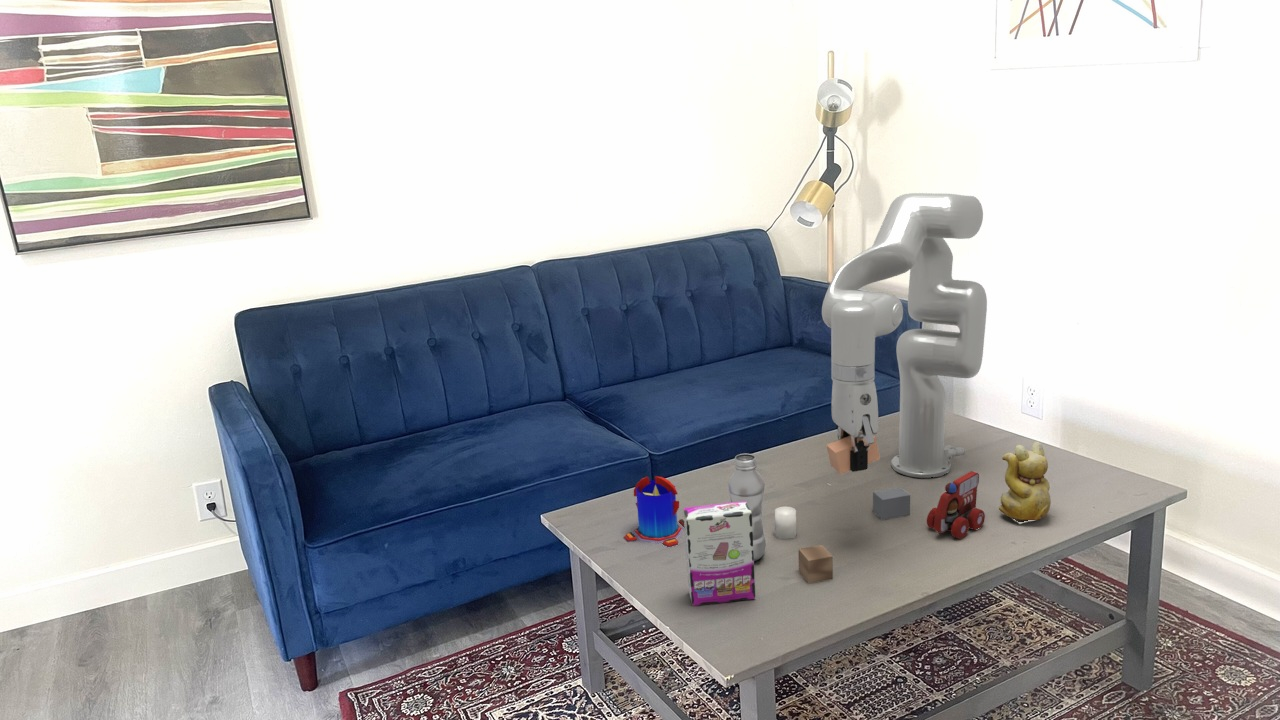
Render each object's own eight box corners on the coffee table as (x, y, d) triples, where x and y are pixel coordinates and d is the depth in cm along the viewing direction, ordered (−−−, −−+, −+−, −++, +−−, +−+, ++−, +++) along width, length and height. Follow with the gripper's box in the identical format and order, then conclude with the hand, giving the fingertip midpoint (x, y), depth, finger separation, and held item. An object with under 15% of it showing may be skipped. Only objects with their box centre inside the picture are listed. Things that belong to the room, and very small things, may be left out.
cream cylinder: (791, 528, 181) (791, 505, 179) (799, 537, 177) (799, 513, 175) (772, 531, 180) (771, 508, 178) (780, 540, 176) (779, 517, 175)
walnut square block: (822, 567, 166) (821, 544, 164) (832, 579, 161) (832, 556, 160) (798, 571, 165) (798, 548, 163) (808, 583, 160) (808, 560, 159)
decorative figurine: (1028, 504, 184) (1032, 434, 180) (1062, 520, 177) (1067, 447, 173) (992, 516, 180) (995, 444, 176) (1025, 532, 173) (1030, 458, 169)
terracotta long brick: (869, 451, 171) (865, 429, 169) (880, 458, 167) (875, 437, 166) (831, 466, 170) (826, 444, 168) (840, 474, 166) (835, 452, 165)
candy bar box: (749, 585, 161) (747, 499, 156) (756, 600, 156) (753, 512, 152) (686, 591, 160) (682, 505, 156) (691, 607, 155) (686, 518, 151)
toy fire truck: (919, 533, 176) (921, 483, 173) (958, 512, 183) (960, 464, 180) (951, 545, 170) (953, 494, 167) (989, 524, 177) (992, 474, 174)
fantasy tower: (619, 541, 180) (615, 485, 176) (641, 515, 190) (638, 461, 187) (676, 549, 175) (673, 491, 172) (695, 522, 186) (693, 467, 182)
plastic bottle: (728, 549, 174) (725, 451, 168) (764, 548, 173) (762, 449, 168) (730, 566, 168) (727, 465, 162) (768, 565, 167) (765, 463, 162)
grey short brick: (899, 507, 187) (900, 487, 185) (909, 515, 183) (910, 495, 182) (872, 512, 185) (873, 491, 184) (882, 520, 182) (882, 499, 180)
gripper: (895, 381, 156) (894, 479, 162) (851, 355, 172) (851, 446, 177) (855, 387, 155) (855, 486, 160) (813, 360, 170) (814, 452, 176)
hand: (852, 464), depth 168 cm, fingers closed on terracotta long brick, 4 cm apart
